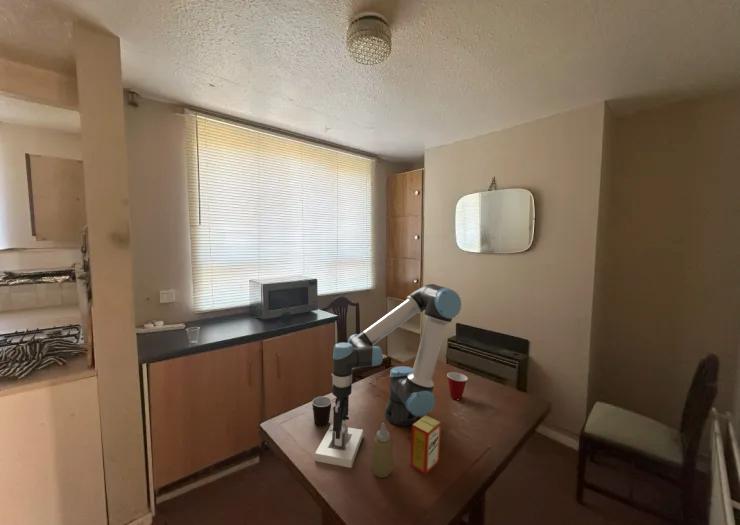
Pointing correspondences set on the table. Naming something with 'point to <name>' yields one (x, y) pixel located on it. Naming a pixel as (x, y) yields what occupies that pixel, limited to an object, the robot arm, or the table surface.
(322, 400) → the coffee mug
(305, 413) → the table surface
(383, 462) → the squeeze bottle
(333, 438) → the plug
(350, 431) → the socket plate
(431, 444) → the baking soda box
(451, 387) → the plastic cup
